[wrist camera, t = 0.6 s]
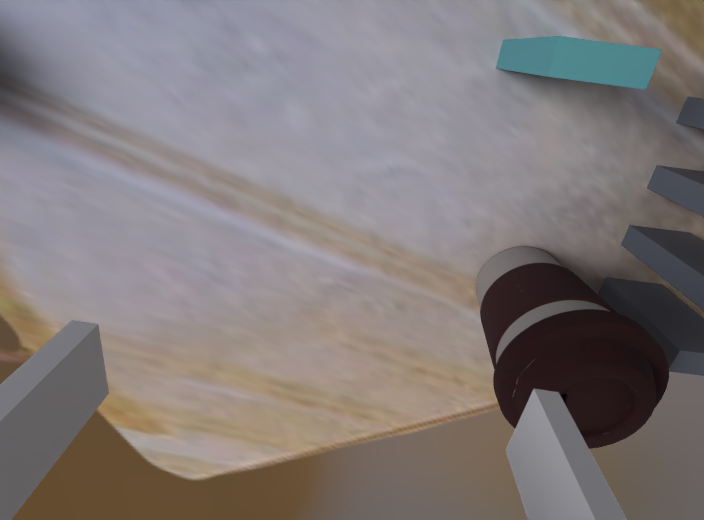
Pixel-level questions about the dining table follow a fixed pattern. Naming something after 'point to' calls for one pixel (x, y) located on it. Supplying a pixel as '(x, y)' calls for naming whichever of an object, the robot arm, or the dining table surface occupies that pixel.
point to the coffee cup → (566, 347)
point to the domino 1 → (580, 60)
